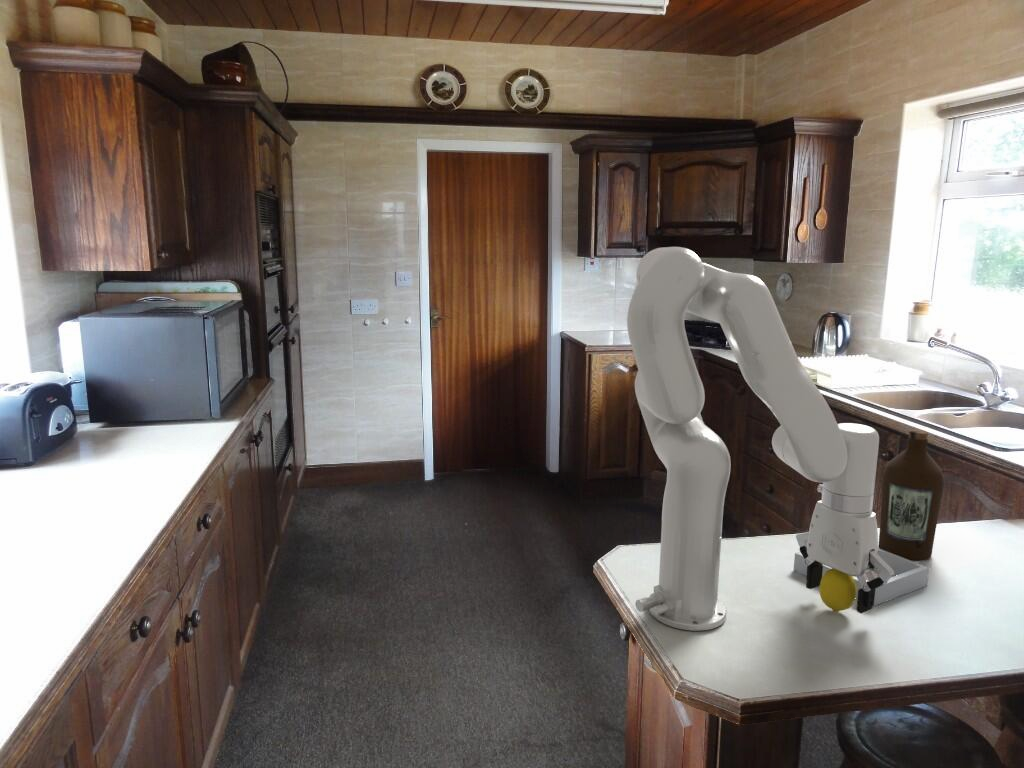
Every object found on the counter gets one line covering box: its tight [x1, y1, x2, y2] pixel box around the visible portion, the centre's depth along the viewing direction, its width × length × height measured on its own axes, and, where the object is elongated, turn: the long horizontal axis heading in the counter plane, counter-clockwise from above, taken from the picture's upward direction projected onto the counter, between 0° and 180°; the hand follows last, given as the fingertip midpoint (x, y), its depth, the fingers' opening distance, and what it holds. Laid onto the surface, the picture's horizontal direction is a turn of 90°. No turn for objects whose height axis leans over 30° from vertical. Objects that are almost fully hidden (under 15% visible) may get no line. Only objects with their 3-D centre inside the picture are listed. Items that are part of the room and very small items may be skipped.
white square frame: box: [793, 547, 930, 607], centre depth 130 cm, size 16×16×4 cm
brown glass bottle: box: [878, 429, 945, 562], centre depth 140 cm, size 11×11×25 cm
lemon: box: [819, 568, 856, 613], centre depth 117 cm, size 6×6×8 cm
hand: (838, 598), depth 117 cm, fingers open, 9 cm apart
